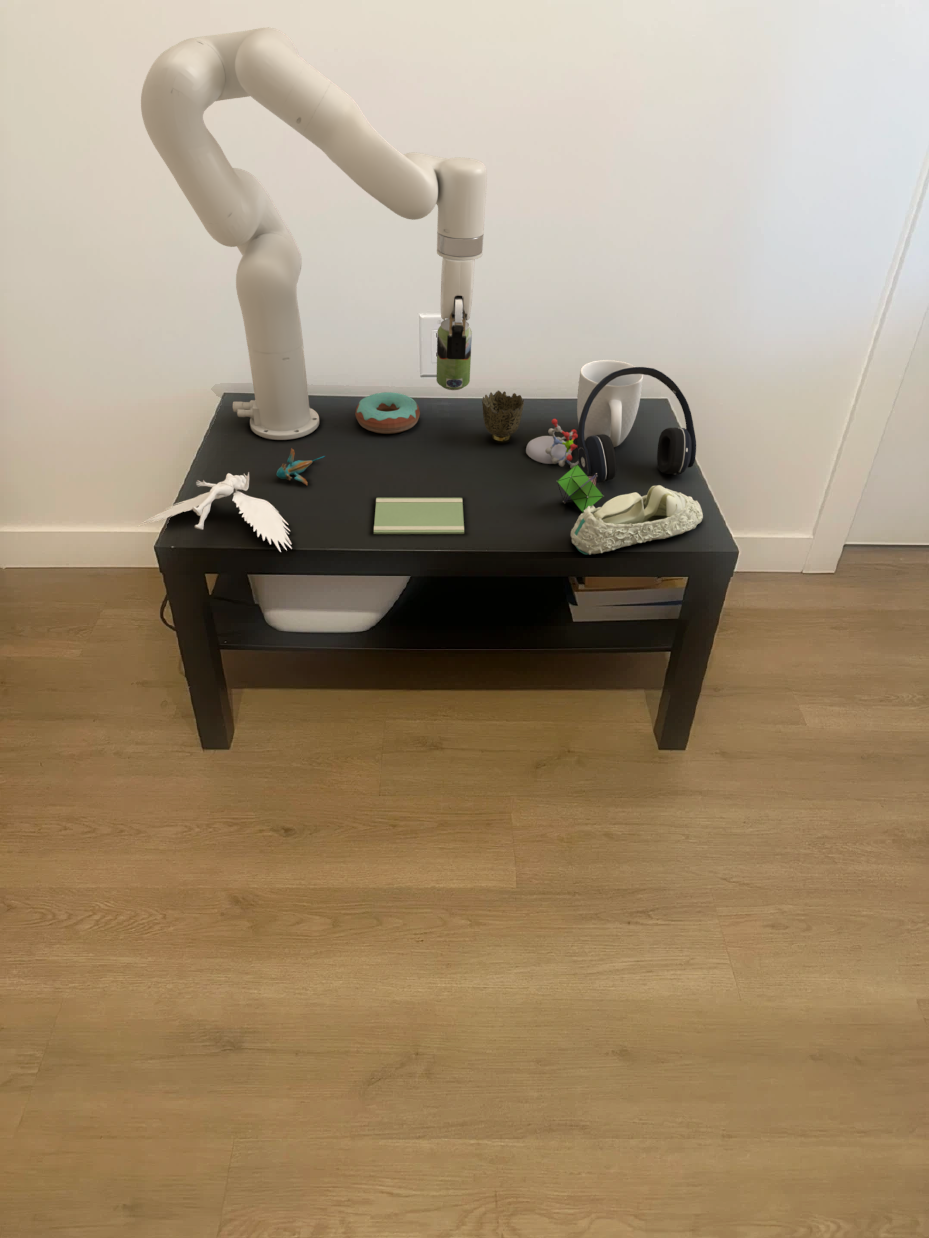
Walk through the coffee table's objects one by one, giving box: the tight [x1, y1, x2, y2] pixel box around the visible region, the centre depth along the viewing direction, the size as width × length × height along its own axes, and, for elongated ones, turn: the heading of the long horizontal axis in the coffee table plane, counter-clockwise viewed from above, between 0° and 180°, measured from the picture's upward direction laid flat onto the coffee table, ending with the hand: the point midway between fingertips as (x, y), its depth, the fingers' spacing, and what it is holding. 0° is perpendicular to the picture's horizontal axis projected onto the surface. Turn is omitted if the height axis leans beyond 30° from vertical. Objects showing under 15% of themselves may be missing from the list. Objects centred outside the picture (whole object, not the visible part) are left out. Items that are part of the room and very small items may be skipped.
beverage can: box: [436, 318, 473, 391], centre depth 154 cm, size 6×7×12 cm
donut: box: [355, 391, 421, 435], centre depth 161 cm, size 12×12×4 cm
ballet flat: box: [570, 484, 704, 556], centre depth 133 cm, size 9×24×8 cm, turn 120°
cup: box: [481, 390, 525, 445], centre depth 155 cm, size 8×7×8 cm
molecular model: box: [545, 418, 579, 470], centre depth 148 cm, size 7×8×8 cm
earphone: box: [576, 366, 697, 484], centre depth 146 cm, size 20×7×18 cm
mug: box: [576, 359, 644, 448], centre depth 153 cm, size 15×11×13 cm
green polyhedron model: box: [556, 463, 605, 514], centre depth 139 cm, size 7×7×8 cm
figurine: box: [137, 472, 293, 553], centre depth 132 cm, size 12×25×14 cm
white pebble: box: [525, 435, 570, 465], centre depth 154 cm, size 8×8×2 cm
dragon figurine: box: [276, 447, 326, 487], centre depth 147 cm, size 6×7×8 cm
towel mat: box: [373, 497, 465, 535], centre depth 138 cm, size 14×10×1 cm
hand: (455, 349), depth 153 cm, fingers closed on beverage can, 6 cm apart
